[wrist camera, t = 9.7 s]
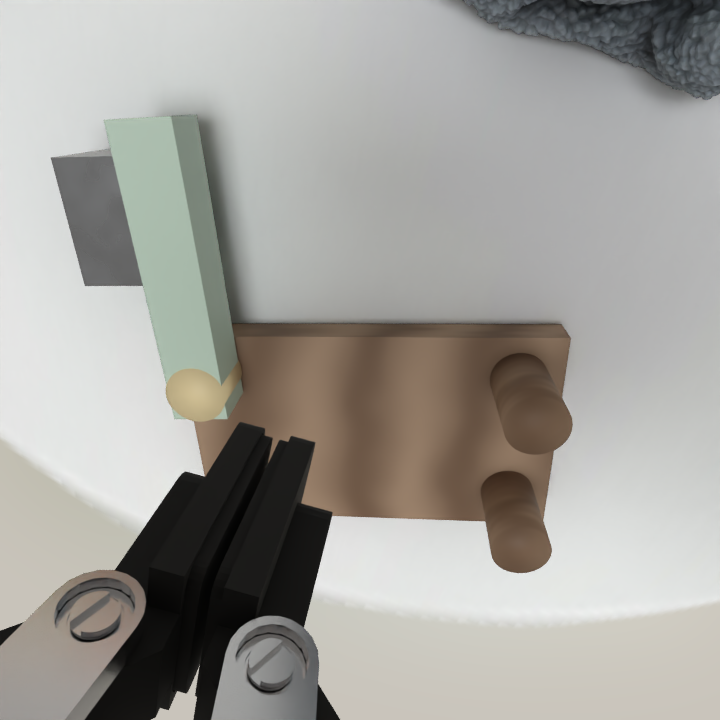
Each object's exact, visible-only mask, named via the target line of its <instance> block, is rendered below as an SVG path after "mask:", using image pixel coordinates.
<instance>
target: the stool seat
mask: <svg viewBox="0 0 720 720" xmlns="http://www.w3.org/2000/svg"><path fill="white" fill-rule="evenodd" d="M232 328H233V334H234V340H235V346H236V352H237V358H238V361H239V362H240V365H241V369H242V376H241V382H242V388H243V393H242V395H241V397H240V399H239V400H238V402H237V404H236V406H235V407H234V409H233V411H232V412H231V414H230V416H229V418H228V419H212V420H209V421H204V422H197V421H194V423H195V429H196V434H197V439H198V444H199V449H200V454H201V459H202V464H203V469H204V474H205V476H206V475H207V473H208V471H209V470H210V468H211V467H212V465H213V463H214V462H215V460H216V459H217V457H218V455H219V454H220V452H221V450H222V449H223V447H224V446H225V444H226V442H227V441H228V439H229V438H230V436H231V434H232V433H233V431H234V430H235V428H236V426H237V425H238V423H239V422H244V423H247V424H251V425H255V426H258V427H262V428H265V436H269V437H272V438H273V441H272V446H271V451H270V456H269V461H270V459H271V457H272V454H273V452H274V450H275V448H276V446H277V444H278V442H279V440H284V441H287V442H288V441H289V439H290V437H291V436H295V437H298V438H302V439H306V440H309V441H313V442H316V443H315V448H314V453H313V457H312V461H311V465H310V469H309V473H308V477H307V482H306V486H305V490H304V494H303V498H302V502H301V503H302V504H305V505H309V506H313V507H316V508H320V509H324V510H327V511H331V512H333V514H332V516H352V517H379V518H407V519H435V520H462V521H486V527H487V532H488V538H489V543H490V549H491V555H492V558H493V560H494V562H495V563H496V564H497V565H498V566H499V567H501V568H502V569H504V570H506V571H509V572H514V573H527V572H531V571H534V570H537V569H539V568H540V567H542V566H543V565H544V564H546V563H547V561H548V560H549V558H550V556H551V552H552V548H551V544H550V541H549V538H548V535H547V531H546V528H545V525H544V522H543V518H544V511H545V505H546V498H547V492H548V485H549V479H550V472H551V465H552V459H553V452H554V450H556V449H557V448H559V447H560V446H561V445H563V444H564V443H565V442H566V440H567V439H568V437H569V436H570V434H571V431H572V425H573V424H572V417H571V415H570V413H569V411H568V409H567V407H566V405H565V403H564V401H563V399H562V393H563V386H564V380H565V373H566V367H567V360H568V353H569V347H570V340H571V338H570V336H569V335H568V333H567V332H566V330H565V329H564V327H563V326H562V324H232ZM268 463H269V462H268Z"/></svg>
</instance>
